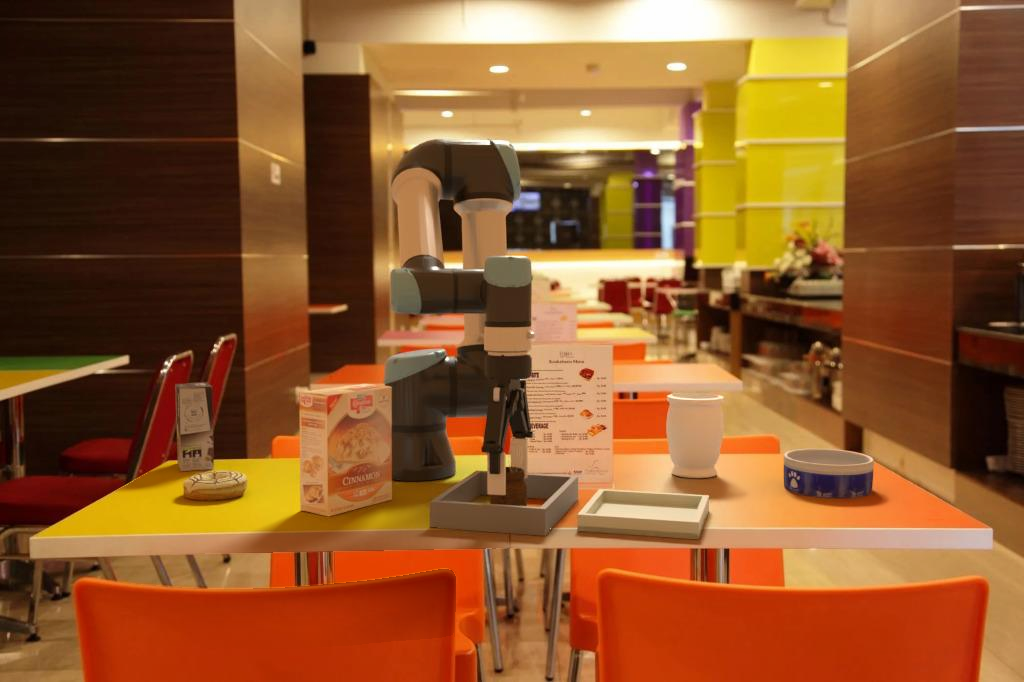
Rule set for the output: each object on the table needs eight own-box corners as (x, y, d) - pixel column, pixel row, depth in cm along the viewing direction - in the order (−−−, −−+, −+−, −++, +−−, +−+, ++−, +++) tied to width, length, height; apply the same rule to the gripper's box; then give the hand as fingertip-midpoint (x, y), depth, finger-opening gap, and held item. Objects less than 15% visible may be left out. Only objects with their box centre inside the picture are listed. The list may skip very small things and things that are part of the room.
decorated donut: (184, 491, 185) (183, 470, 185) (246, 487, 188) (246, 466, 188) (182, 504, 175) (182, 482, 175) (249, 500, 178) (248, 478, 178)
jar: (719, 469, 203) (721, 392, 202) (725, 480, 193) (726, 399, 192) (664, 468, 204) (665, 391, 203) (667, 479, 194) (668, 399, 193)
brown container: (534, 511, 170) (534, 437, 169) (512, 519, 165) (512, 443, 164) (504, 506, 173) (504, 434, 172) (481, 514, 168) (481, 440, 167)
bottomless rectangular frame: (429, 527, 160) (429, 501, 159) (476, 493, 183) (476, 470, 182) (545, 535, 155) (545, 509, 155) (578, 499, 178) (578, 476, 178)
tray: (577, 530, 158) (577, 514, 158) (599, 503, 175) (599, 488, 175) (698, 539, 153) (699, 522, 153) (708, 510, 170) (709, 495, 170)
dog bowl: (892, 494, 183) (893, 459, 183) (825, 503, 176) (826, 467, 176) (828, 477, 197) (829, 445, 196) (765, 485, 190) (765, 452, 189)
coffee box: (215, 469, 203) (213, 386, 202) (180, 472, 201) (178, 388, 199) (210, 460, 212) (208, 381, 210) (176, 463, 209) (174, 382, 208)
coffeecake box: (329, 517, 166) (327, 394, 164) (298, 510, 170) (296, 391, 169) (394, 500, 178) (393, 385, 176) (364, 494, 182) (363, 382, 181)
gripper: (510, 360, 154) (510, 503, 155) (549, 348, 178) (548, 472, 179) (461, 359, 156) (461, 500, 157) (506, 347, 180) (506, 470, 181)
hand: (508, 485), depth 168 cm, fingers open, 13 cm apart
